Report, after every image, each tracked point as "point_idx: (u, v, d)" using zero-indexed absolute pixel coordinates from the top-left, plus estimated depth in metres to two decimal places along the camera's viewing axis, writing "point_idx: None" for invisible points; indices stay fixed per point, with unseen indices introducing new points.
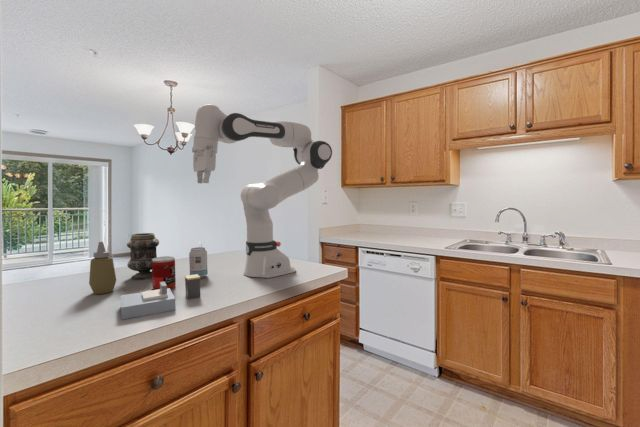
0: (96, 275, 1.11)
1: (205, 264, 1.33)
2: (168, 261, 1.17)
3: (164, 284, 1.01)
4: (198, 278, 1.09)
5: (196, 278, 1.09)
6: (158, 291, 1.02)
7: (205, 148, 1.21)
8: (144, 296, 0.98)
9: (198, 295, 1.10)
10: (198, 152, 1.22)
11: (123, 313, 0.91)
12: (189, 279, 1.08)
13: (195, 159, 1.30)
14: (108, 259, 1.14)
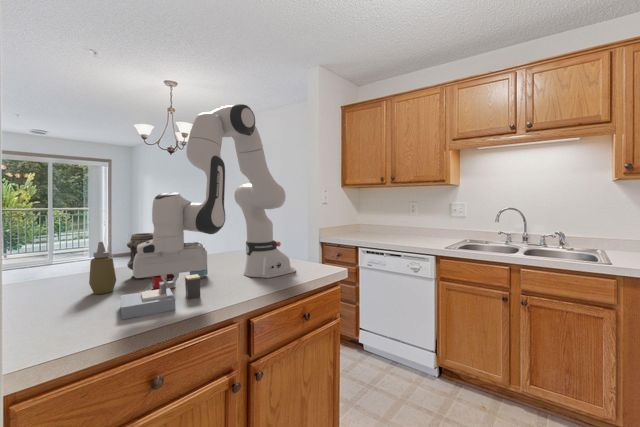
0: (96, 275, 1.11)
1: (205, 264, 1.33)
2: None
3: (163, 284, 1.01)
4: (198, 278, 1.09)
5: (196, 278, 1.09)
6: (157, 291, 1.02)
7: (184, 246, 1.03)
8: (143, 296, 0.97)
9: (198, 295, 1.10)
10: (175, 253, 1.00)
11: (123, 313, 0.91)
12: (189, 279, 1.08)
13: (142, 261, 0.96)
14: (108, 259, 1.14)
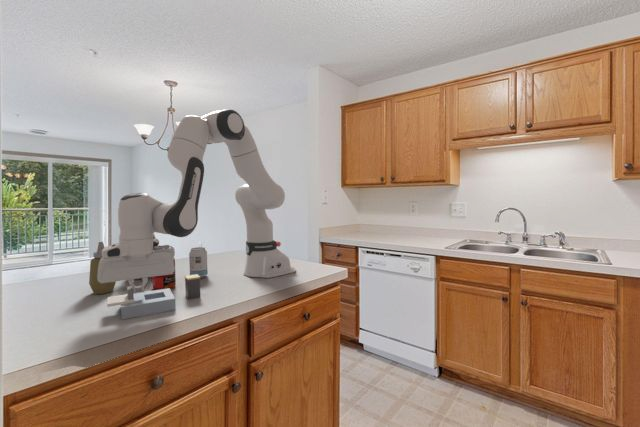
0: (96, 275, 1.11)
1: (205, 264, 1.33)
2: None
3: (131, 289, 0.96)
4: (198, 278, 1.09)
5: (196, 278, 1.09)
6: (125, 296, 0.97)
7: None
8: (108, 302, 0.93)
9: (198, 295, 1.10)
10: (143, 256, 0.96)
11: (123, 313, 0.91)
12: (189, 279, 1.08)
13: (106, 265, 0.92)
14: None
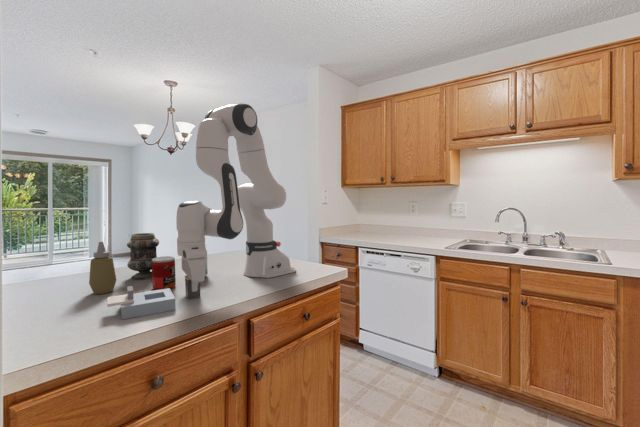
0: (96, 275, 1.11)
1: (205, 264, 1.33)
2: (168, 261, 1.17)
3: (131, 289, 0.96)
4: None
5: None
6: (125, 296, 0.97)
7: None
8: (108, 302, 0.93)
9: (198, 295, 1.10)
10: None
11: (123, 313, 0.91)
12: (189, 279, 1.08)
13: None
14: (108, 259, 1.14)
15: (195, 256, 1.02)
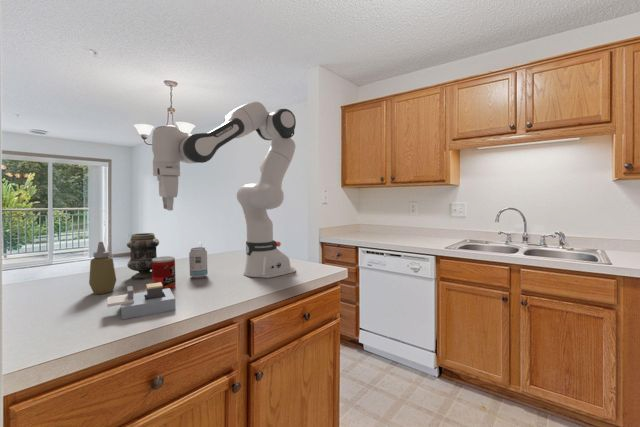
0: (96, 275, 1.11)
1: (205, 264, 1.33)
2: (168, 261, 1.17)
3: (131, 289, 0.96)
4: (160, 287, 1.00)
5: (158, 287, 0.99)
6: (125, 296, 0.97)
7: None
8: (108, 302, 0.93)
9: None
10: None
11: (123, 313, 0.91)
12: (150, 288, 0.98)
13: None
14: (108, 259, 1.14)
15: (168, 173, 1.09)
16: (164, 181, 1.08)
